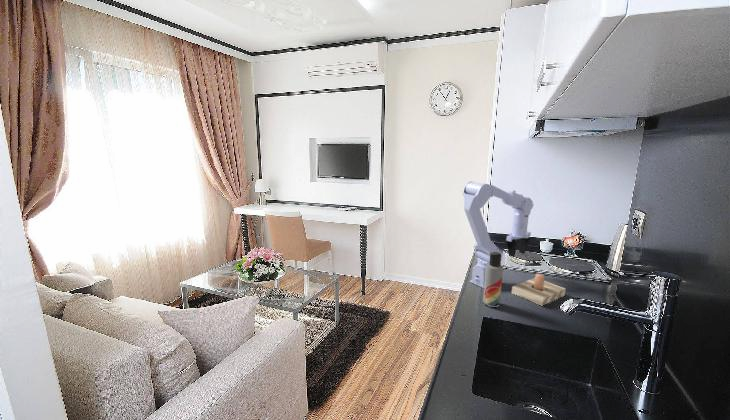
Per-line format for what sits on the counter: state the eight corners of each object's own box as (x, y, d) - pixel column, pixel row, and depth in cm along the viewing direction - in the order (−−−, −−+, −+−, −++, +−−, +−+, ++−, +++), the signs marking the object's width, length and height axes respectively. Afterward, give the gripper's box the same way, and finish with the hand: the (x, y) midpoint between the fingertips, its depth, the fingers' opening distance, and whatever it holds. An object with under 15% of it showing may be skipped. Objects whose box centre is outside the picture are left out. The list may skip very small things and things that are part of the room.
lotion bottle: (496, 310, 111) (501, 256, 107) (480, 304, 114) (484, 253, 110) (501, 304, 115) (506, 252, 111) (486, 299, 119) (490, 249, 115)
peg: (538, 297, 120) (541, 277, 118) (531, 293, 123) (533, 274, 121) (544, 295, 122) (546, 276, 120) (536, 292, 124) (538, 273, 123)
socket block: (542, 306, 113) (543, 299, 112) (511, 293, 123) (512, 286, 122) (564, 295, 121) (565, 288, 121) (534, 284, 131) (535, 277, 131)
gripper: (518, 228, 127) (515, 260, 129) (538, 224, 134) (535, 254, 137) (503, 225, 132) (500, 255, 135) (523, 220, 140) (519, 249, 143)
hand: (516, 254), depth 137 cm, fingers open, 7 cm apart
